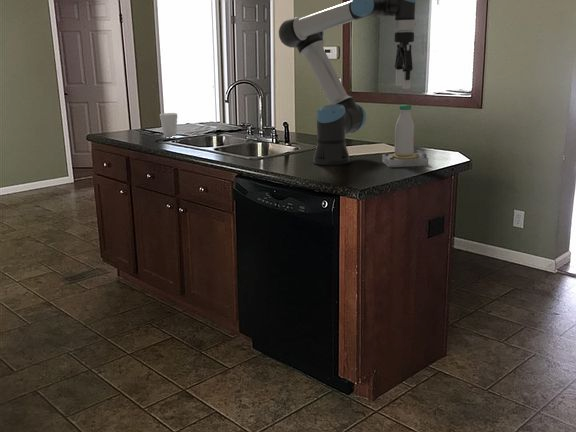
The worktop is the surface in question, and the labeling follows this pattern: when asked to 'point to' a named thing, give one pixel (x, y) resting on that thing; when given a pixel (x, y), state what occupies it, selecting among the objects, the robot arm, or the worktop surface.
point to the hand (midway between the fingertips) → (402, 87)
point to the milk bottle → (404, 132)
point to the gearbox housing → (405, 159)
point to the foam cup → (169, 124)
